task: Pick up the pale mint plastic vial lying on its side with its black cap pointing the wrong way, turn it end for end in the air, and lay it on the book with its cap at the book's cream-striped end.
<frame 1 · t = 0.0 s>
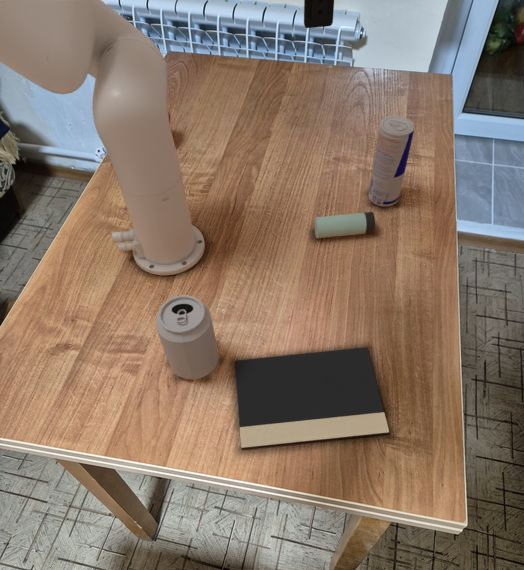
hand: (311, 6, 60), 37 cm above the table, tool pointing down, fingers open, 9 cm apart
can: (195, 361, 77), on the table
strawberry: (161, 143, 108), on the table
book: (307, 396, 73), on the table
beverage can: (383, 199, 96), on the table
vial: (315, 227, 89), point 2 cm above the table
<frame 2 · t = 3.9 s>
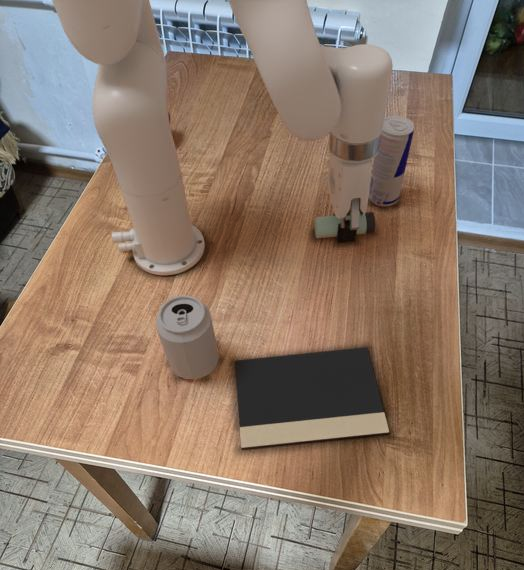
hand: (343, 231, 91), 0 cm above the table, tool pointing down, fingers closed on vial, 3 cm apart
vial: (316, 227, 89), point 2 cm above the table, touching gripper
everything else where it was.
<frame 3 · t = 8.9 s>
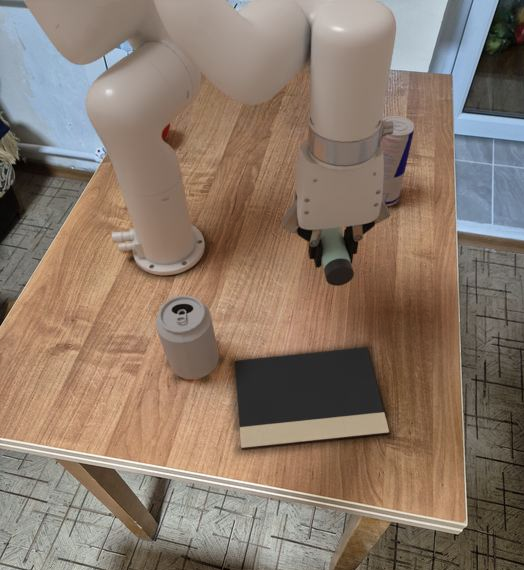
hand: (331, 257, 70), 13 cm above the table, tool pointing down, fingers closed on vial, 3 cm apart
vial: (325, 223, 71), point 15 cm above the table, touching gripper
everything else where it was.
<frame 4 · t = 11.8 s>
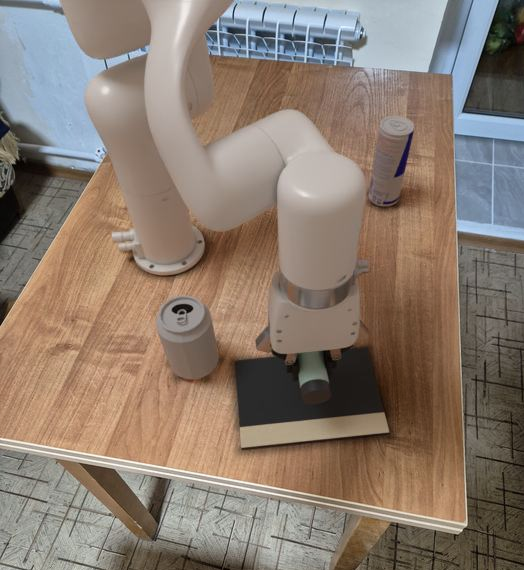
hand: (310, 369, 67), 8 cm above the table, tool pointing down, fingers closed on vial, 3 cm apart
vial: (305, 331, 68), point 9 cm above the table, touching gripper
everything else where it was.
when the fingers open (1 cm above the table, at t = 13.9 s): vial stays where it is, resting on book.
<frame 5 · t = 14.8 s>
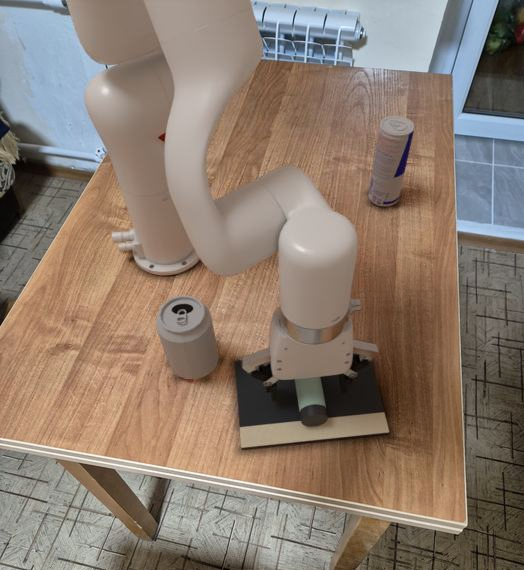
hand: (307, 387, 71), 2 cm above the table, tool pointing down, fingers open, 9 cm apart
vial: (304, 358, 74), point 2 cm above the table, touching book
everything else where it was.
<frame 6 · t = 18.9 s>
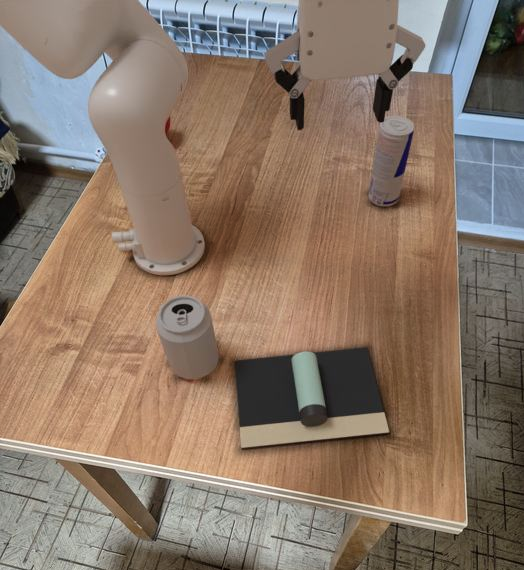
hand: (338, 119, 62), 28 cm above the table, tool pointing down, fingers open, 9 cm apart
nothing on the table moved.
at the end: vial 0.1 cm from the target spot on the book, point 2.4 cm above the book's base; the gripper is holding nothing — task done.
